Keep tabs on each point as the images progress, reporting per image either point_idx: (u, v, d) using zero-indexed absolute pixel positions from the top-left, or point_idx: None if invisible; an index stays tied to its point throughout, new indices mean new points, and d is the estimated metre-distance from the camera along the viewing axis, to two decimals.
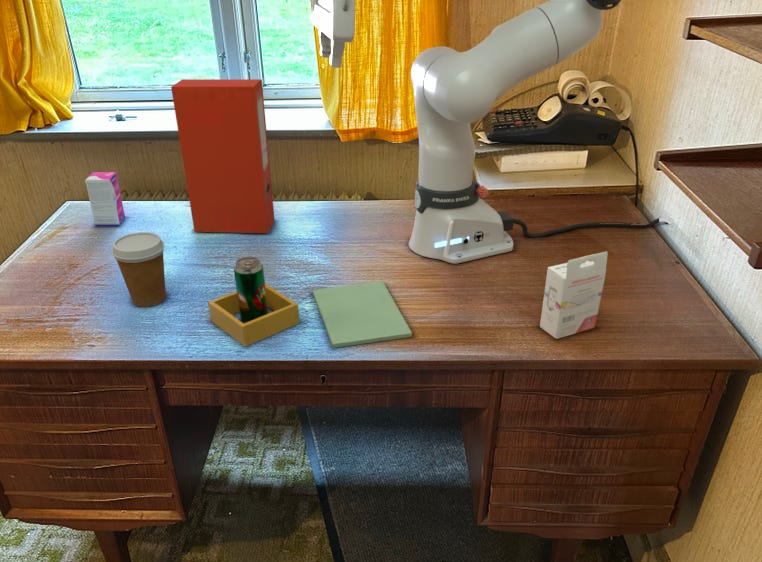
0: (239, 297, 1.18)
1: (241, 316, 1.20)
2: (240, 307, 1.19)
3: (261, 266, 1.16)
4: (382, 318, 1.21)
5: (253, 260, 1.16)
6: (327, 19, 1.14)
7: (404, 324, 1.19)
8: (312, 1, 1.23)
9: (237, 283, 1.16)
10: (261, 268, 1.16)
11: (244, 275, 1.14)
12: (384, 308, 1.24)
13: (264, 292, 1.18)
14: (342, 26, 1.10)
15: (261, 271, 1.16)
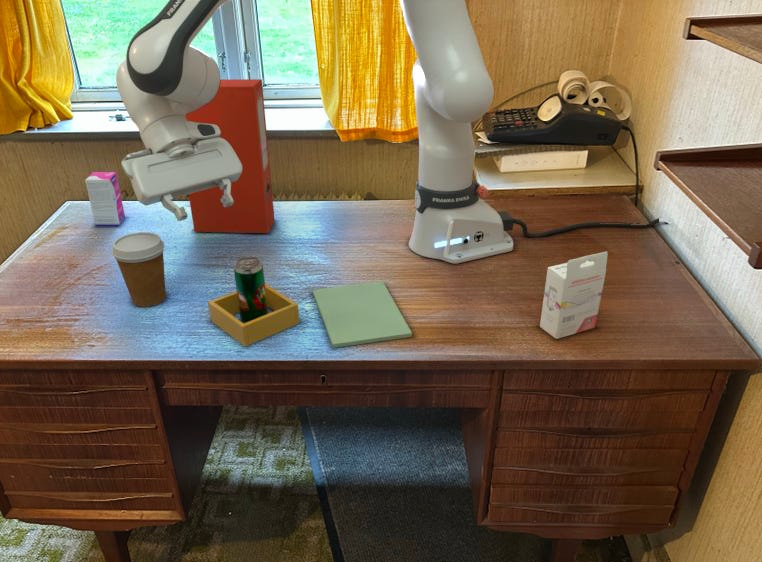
0: (239, 297, 1.18)
1: (241, 316, 1.20)
2: (240, 307, 1.19)
3: (261, 266, 1.16)
4: (382, 318, 1.21)
5: (253, 260, 1.16)
6: None
7: (404, 324, 1.19)
8: None
9: (237, 283, 1.16)
10: (261, 268, 1.16)
11: (244, 275, 1.14)
12: (384, 308, 1.24)
13: (264, 292, 1.18)
14: (136, 191, 1.16)
15: (261, 271, 1.16)
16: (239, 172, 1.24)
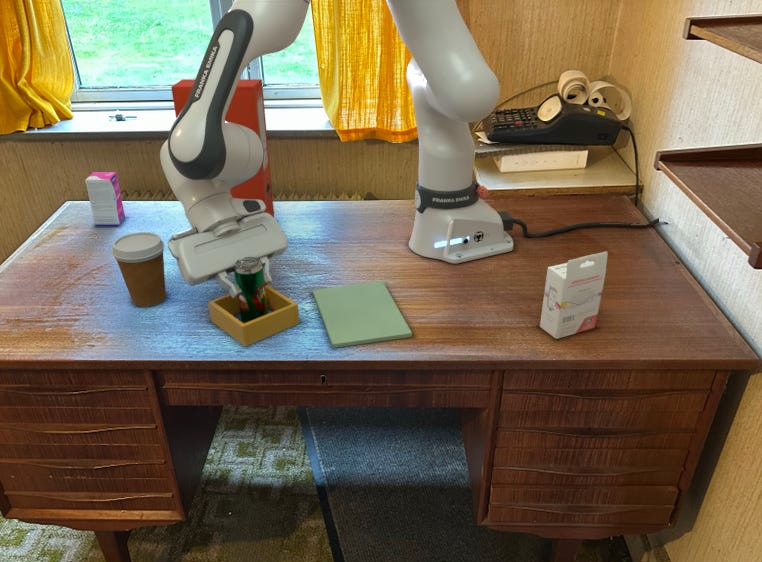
0: (239, 297, 1.18)
1: (241, 316, 1.20)
2: (240, 307, 1.19)
3: (261, 266, 1.16)
4: (382, 318, 1.21)
5: (253, 260, 1.16)
6: None
7: (404, 324, 1.19)
8: None
9: (237, 283, 1.16)
10: (261, 268, 1.16)
11: (244, 275, 1.14)
12: (384, 308, 1.24)
13: (264, 292, 1.18)
14: (183, 272, 1.14)
15: (261, 271, 1.16)
16: (285, 247, 1.22)
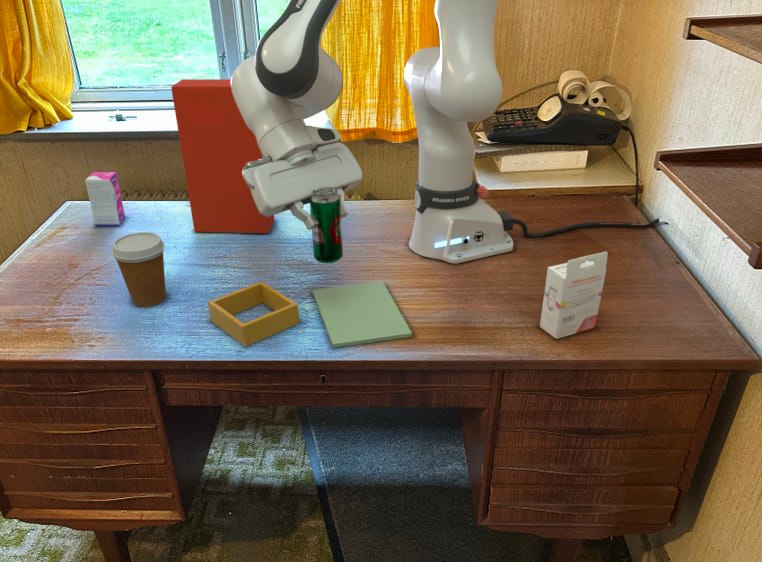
0: (314, 230, 1.12)
1: (315, 251, 1.15)
2: (315, 241, 1.14)
3: (338, 196, 1.10)
4: (382, 318, 1.21)
5: (330, 190, 1.11)
6: None
7: (404, 324, 1.19)
8: None
9: (313, 214, 1.11)
10: (339, 198, 1.10)
11: (321, 205, 1.09)
12: (384, 308, 1.24)
13: (340, 224, 1.13)
14: (258, 202, 1.08)
15: (339, 201, 1.10)
16: (360, 179, 1.16)
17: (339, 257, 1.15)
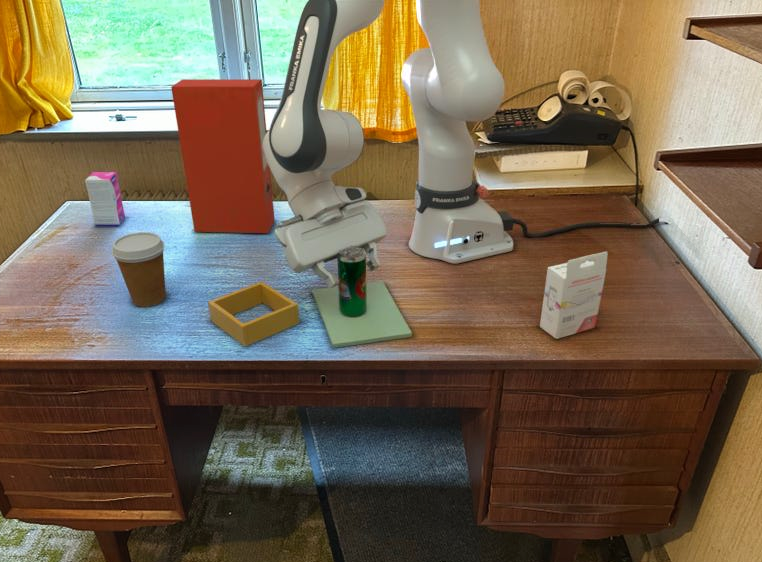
0: (341, 286, 1.19)
1: (341, 305, 1.21)
2: (341, 296, 1.20)
3: (365, 255, 1.17)
4: (382, 318, 1.21)
5: (356, 249, 1.17)
6: None
7: (404, 324, 1.19)
8: None
9: (340, 272, 1.17)
10: (365, 257, 1.17)
11: (349, 264, 1.15)
12: (384, 308, 1.24)
13: (365, 281, 1.19)
14: (290, 259, 1.15)
15: (365, 260, 1.17)
16: (384, 235, 1.22)
17: (363, 311, 1.22)
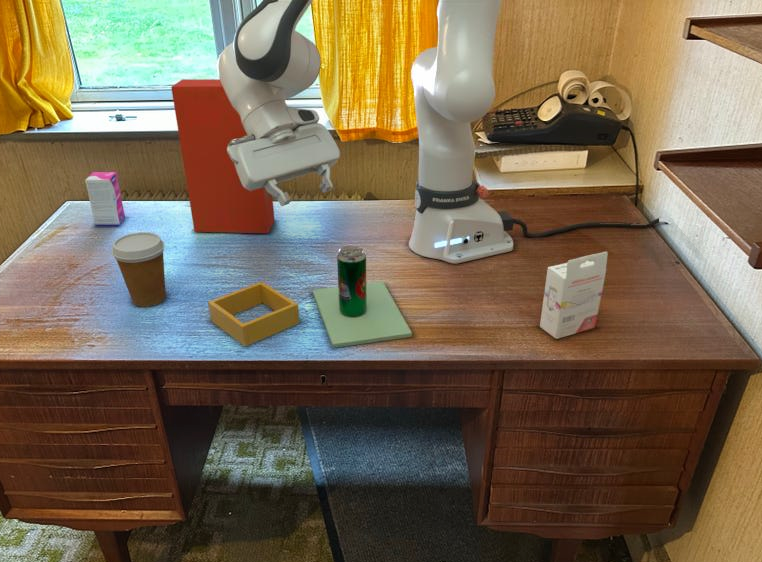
0: (341, 286, 1.19)
1: (341, 305, 1.21)
2: (341, 296, 1.20)
3: (364, 255, 1.17)
4: (382, 318, 1.21)
5: (356, 249, 1.17)
6: None
7: (404, 324, 1.19)
8: None
9: (340, 272, 1.17)
10: (365, 257, 1.17)
11: (349, 264, 1.15)
12: (384, 308, 1.24)
13: (365, 281, 1.19)
14: (241, 176, 1.17)
15: (365, 260, 1.17)
16: (337, 157, 1.25)
17: (363, 311, 1.22)
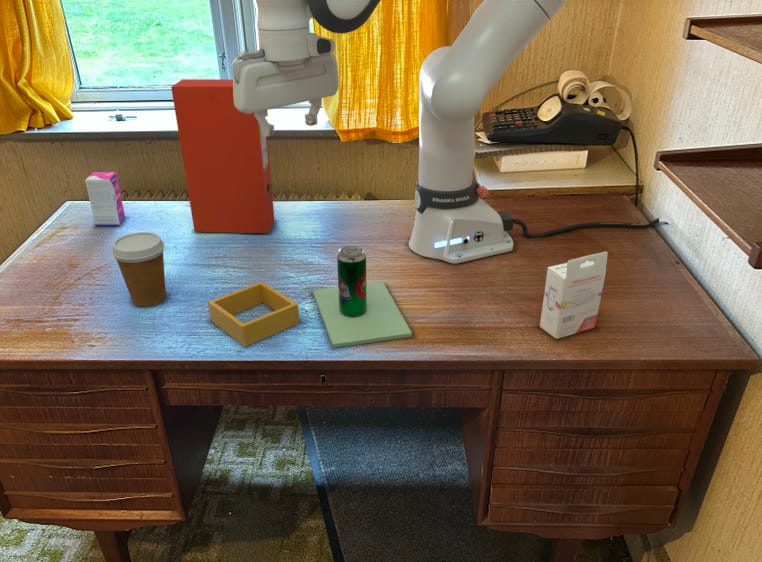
0: (341, 286, 1.19)
1: (341, 305, 1.21)
2: (341, 296, 1.20)
3: (364, 255, 1.17)
4: (382, 318, 1.21)
5: (356, 249, 1.17)
6: None
7: (404, 324, 1.19)
8: None
9: (340, 272, 1.17)
10: (365, 257, 1.17)
11: (349, 264, 1.15)
12: (384, 308, 1.24)
13: (365, 281, 1.19)
14: (236, 98, 1.12)
15: (365, 260, 1.17)
16: (333, 94, 1.22)
17: (363, 311, 1.22)
